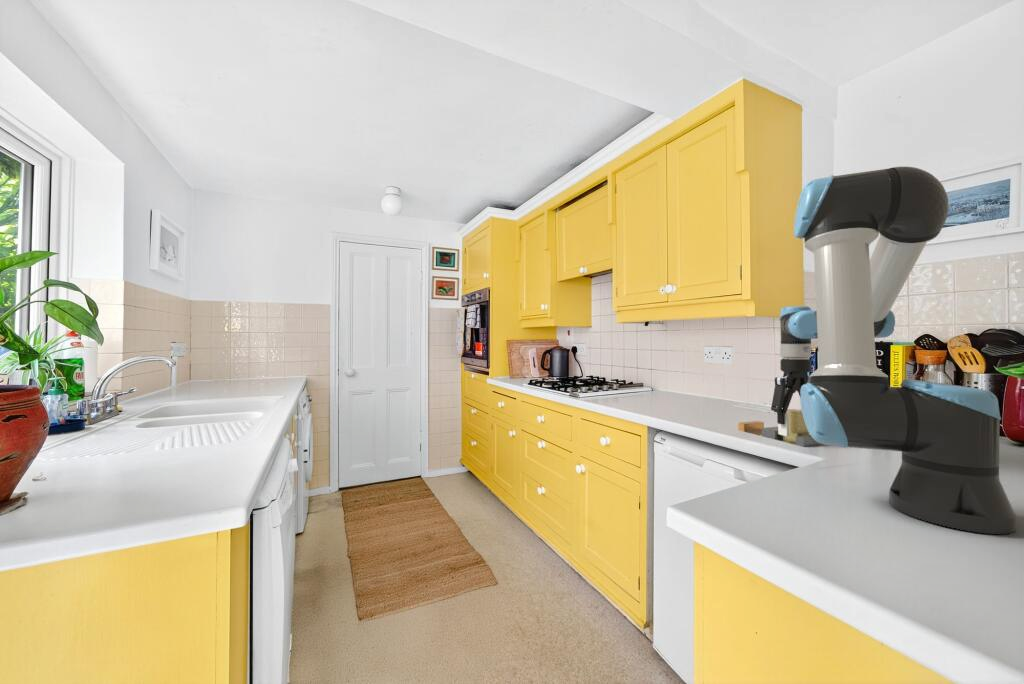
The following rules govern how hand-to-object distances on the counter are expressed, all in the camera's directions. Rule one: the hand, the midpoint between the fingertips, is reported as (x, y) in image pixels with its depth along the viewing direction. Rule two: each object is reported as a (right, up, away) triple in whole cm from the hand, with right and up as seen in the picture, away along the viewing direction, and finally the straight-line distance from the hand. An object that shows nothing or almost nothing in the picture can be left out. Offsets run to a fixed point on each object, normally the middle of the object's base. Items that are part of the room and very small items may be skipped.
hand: (795, 433), depth 120 cm
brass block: (0, -2, 0) cm, 2 cm away
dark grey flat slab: (-2, -2, +5) cm, 6 cm away
